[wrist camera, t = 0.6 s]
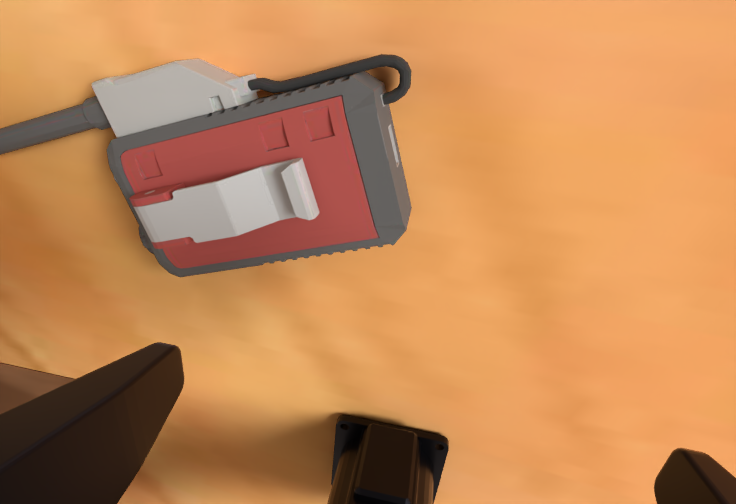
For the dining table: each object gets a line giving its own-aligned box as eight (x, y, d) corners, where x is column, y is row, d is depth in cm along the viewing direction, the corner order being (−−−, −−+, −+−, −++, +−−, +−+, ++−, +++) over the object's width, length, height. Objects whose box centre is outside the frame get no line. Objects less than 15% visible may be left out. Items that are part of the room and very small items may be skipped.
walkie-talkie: (399, -8, 15) (-4, 118, 21) (381, -21, 11) (-110, 138, 17) (441, 216, 19) (89, 274, 24) (439, 264, 15) (20, 320, 20)
